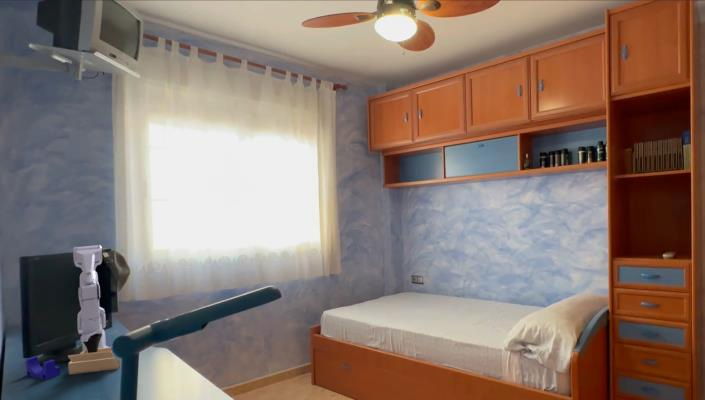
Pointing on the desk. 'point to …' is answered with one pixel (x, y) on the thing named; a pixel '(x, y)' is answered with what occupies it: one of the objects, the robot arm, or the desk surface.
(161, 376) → the desk surface
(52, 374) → the cable clip
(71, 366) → the carton
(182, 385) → the desk surface
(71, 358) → the carton flap
